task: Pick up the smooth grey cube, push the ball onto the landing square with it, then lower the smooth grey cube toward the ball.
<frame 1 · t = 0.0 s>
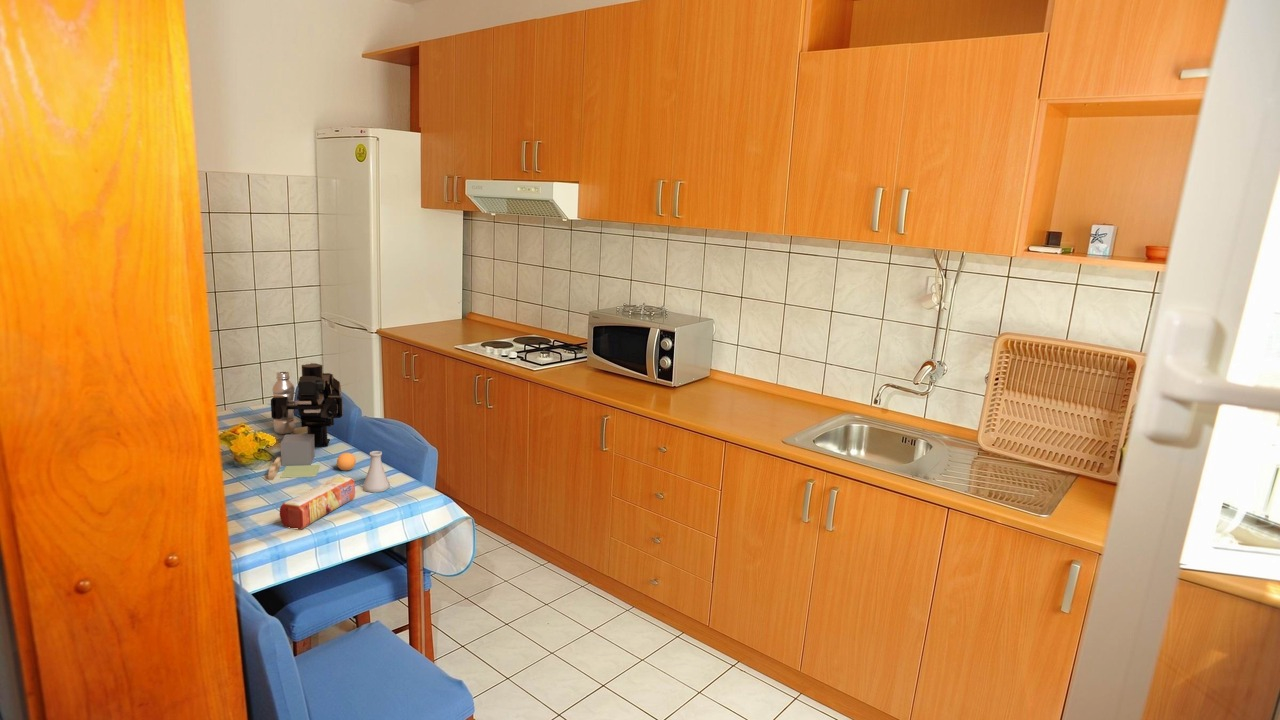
hand: (302, 415, 202), 17 cm above the table, tool horizontal, fingers open, 9 cm apart
snack package: (320, 514, 179), on the table
landing square: (300, 471, 205), on the table
plastic bottle: (284, 433, 238), on the table
smooth grey cube: (298, 461, 213), on the table
flask: (376, 488, 197), on the table
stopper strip: (275, 472, 203), on the table
ball: (346, 461, 208), on the table
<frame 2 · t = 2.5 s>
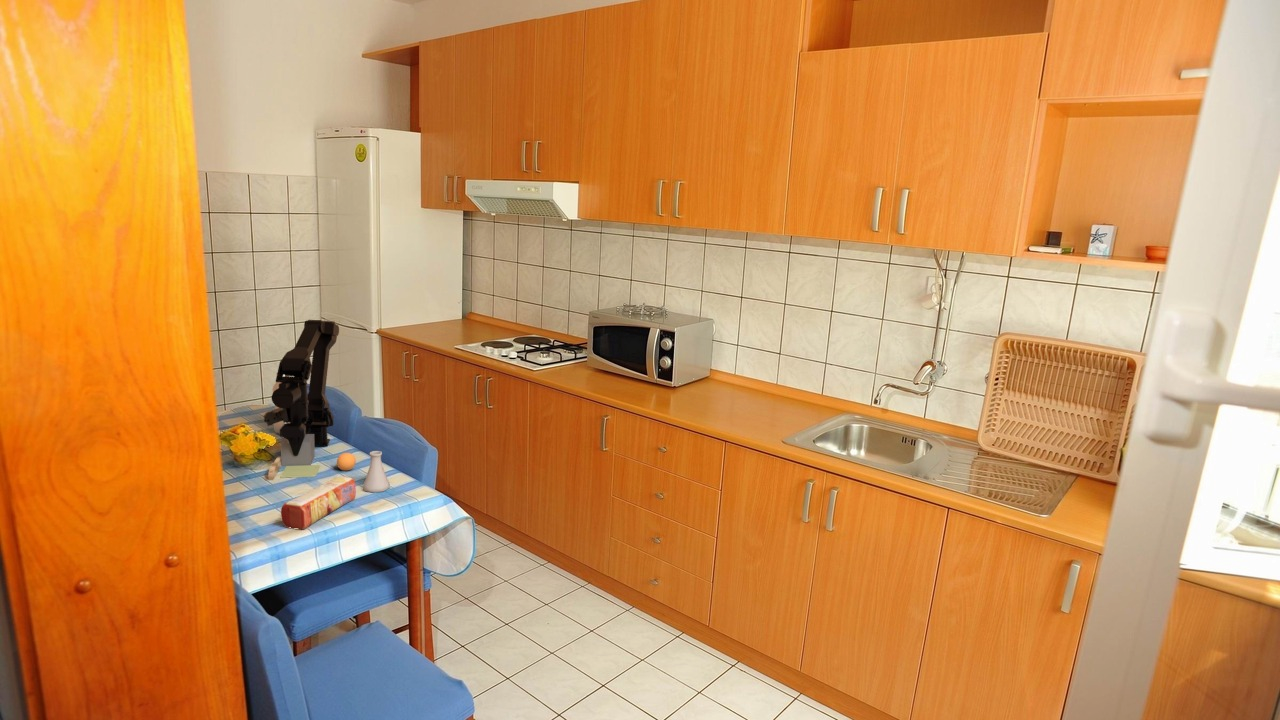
hand: (298, 451, 212), 3 cm above the table, tool pointing down, fingers closed on smooth grey cube, 8 cm apart
smooth grey cube: (298, 461, 213), on the table, touching gripper
everything else where it was.
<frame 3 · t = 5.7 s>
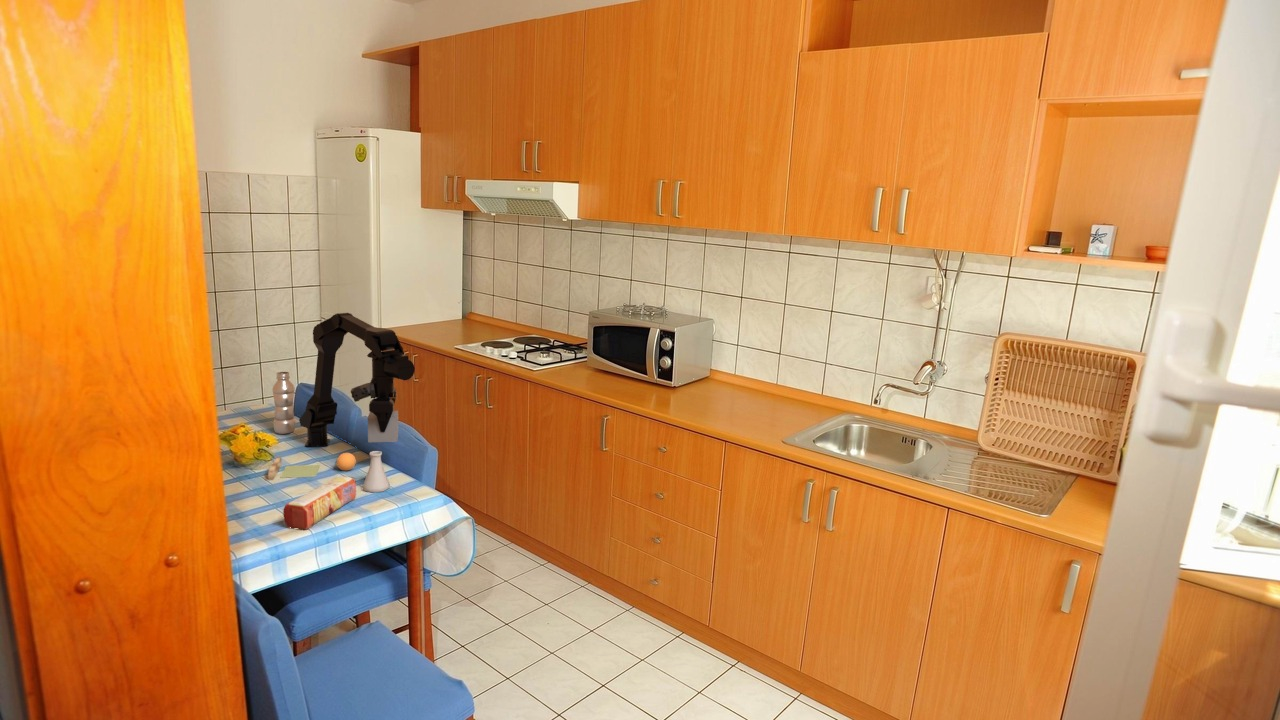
hand: (383, 427, 209), 12 cm above the table, tool pointing down, fingers closed on smooth grey cube, 8 cm apart
smooth grey cube: (383, 438, 209), point 9 cm above the table, touching gripper
everything else where it was.
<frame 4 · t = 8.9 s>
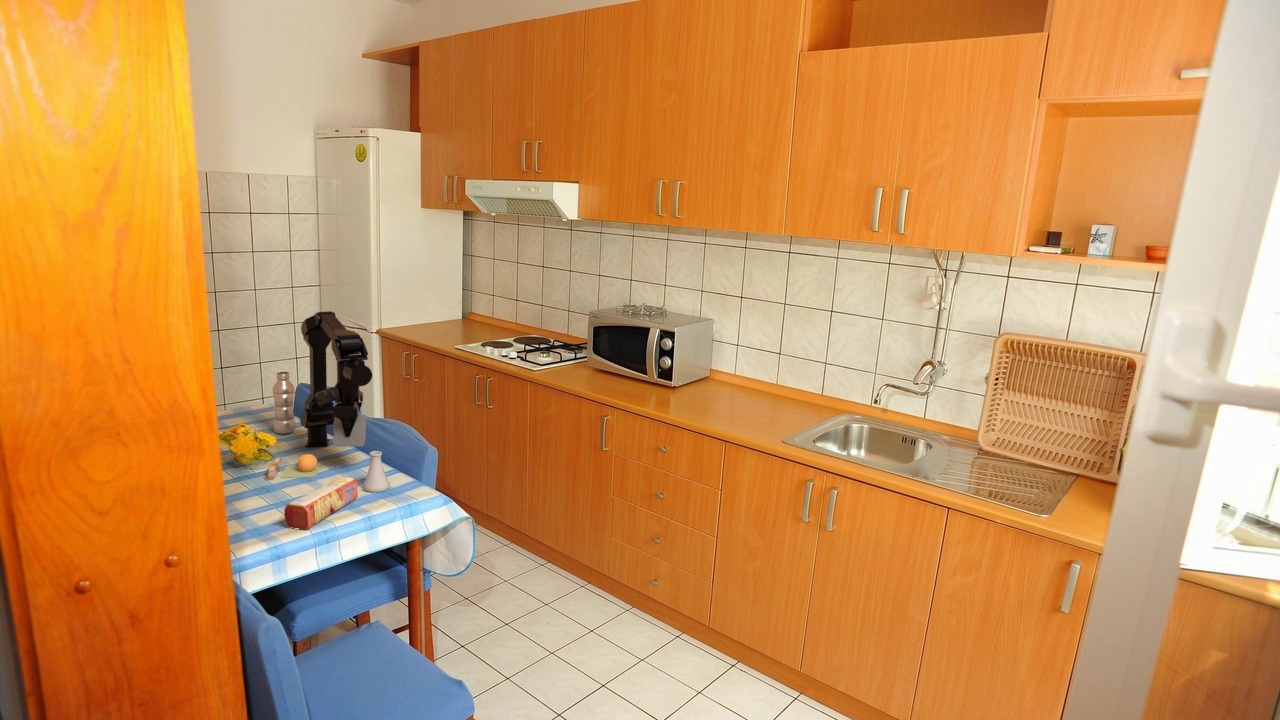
hand: (349, 432, 206), 11 cm above the table, tool pointing down, fingers closed on smooth grey cube, 8 cm apart
smooth grey cube: (350, 442, 207), point 8 cm above the table, touching gripper
ball: (307, 462, 205), on the table
everything else where it was.
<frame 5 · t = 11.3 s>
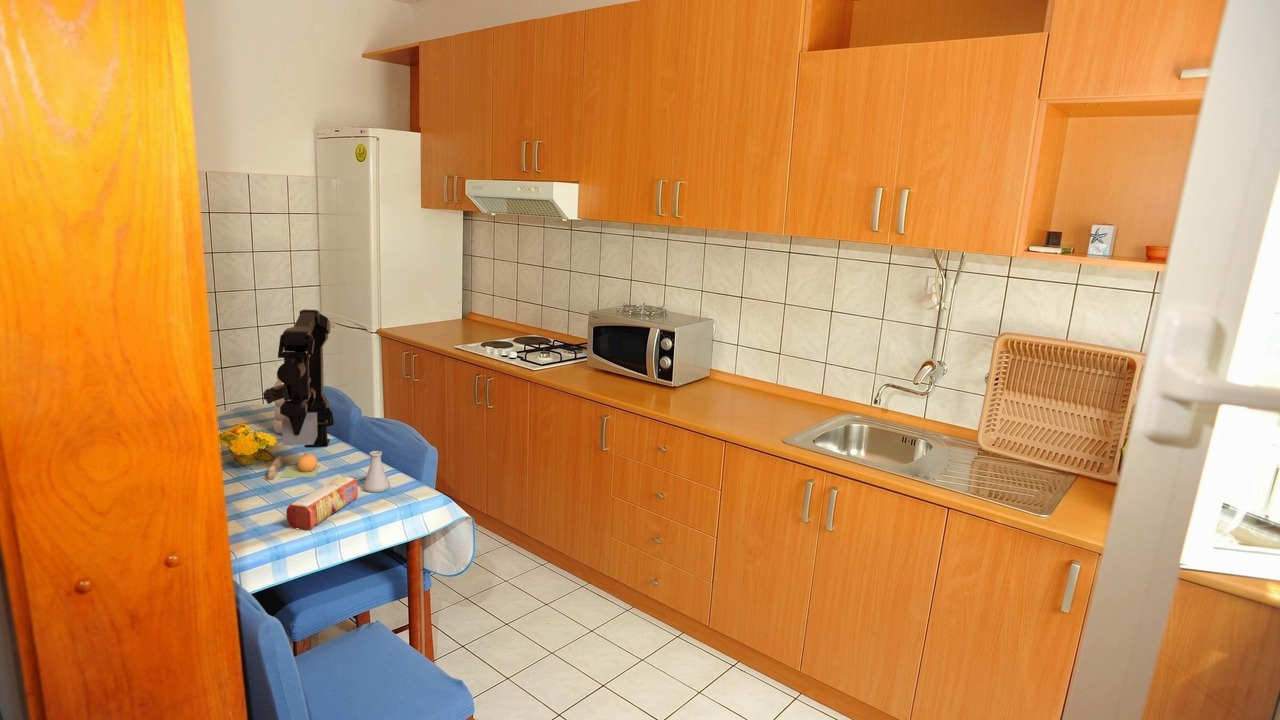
hand: (299, 430, 203), 12 cm above the table, tool pointing down, fingers closed on smooth grey cube, 8 cm apart
smooth grey cube: (300, 440, 203), point 9 cm above the table, touching gripper
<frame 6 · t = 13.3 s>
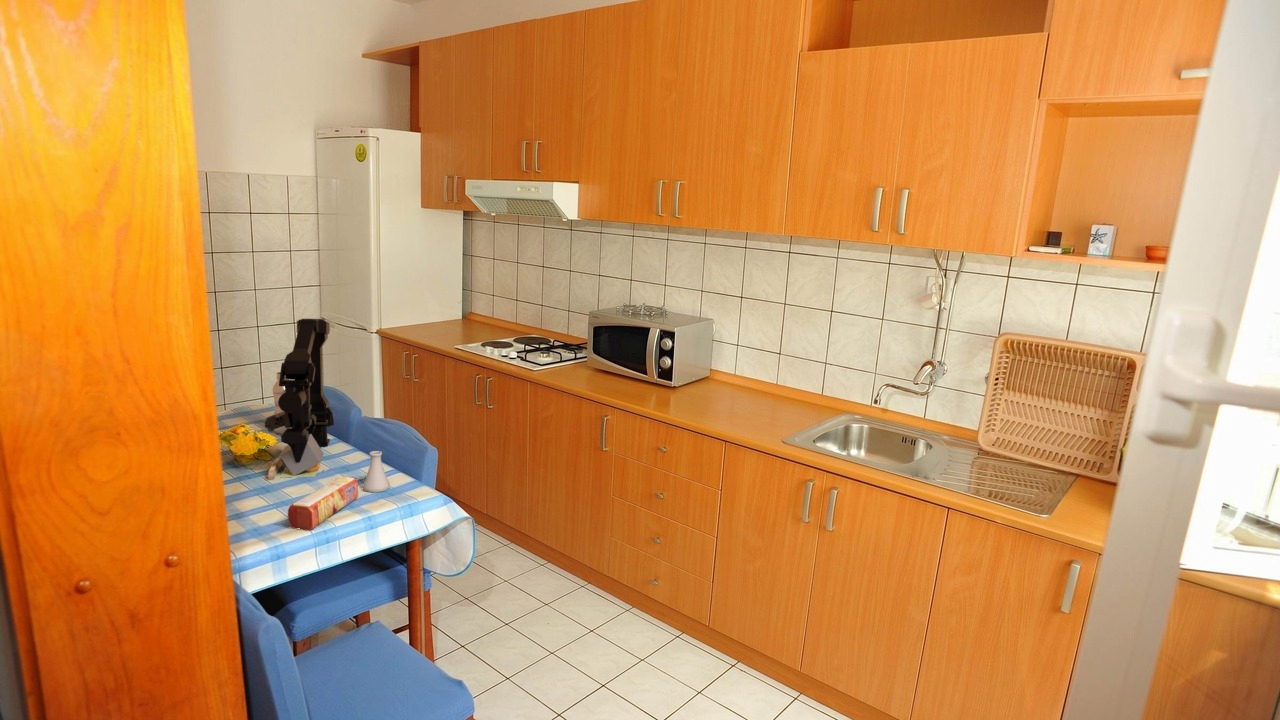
hand: (300, 457, 204), 4 cm above the table, tool pointing down, fingers closed on smooth grey cube, 8 cm apart
smooth grey cube: (309, 464, 205), point 2 cm above the table, tilted 28°, touching gripper
when the fingers open (4 cm above the table, at t = 14.1 s): smooth grey cube drops 2 cm, on the table.
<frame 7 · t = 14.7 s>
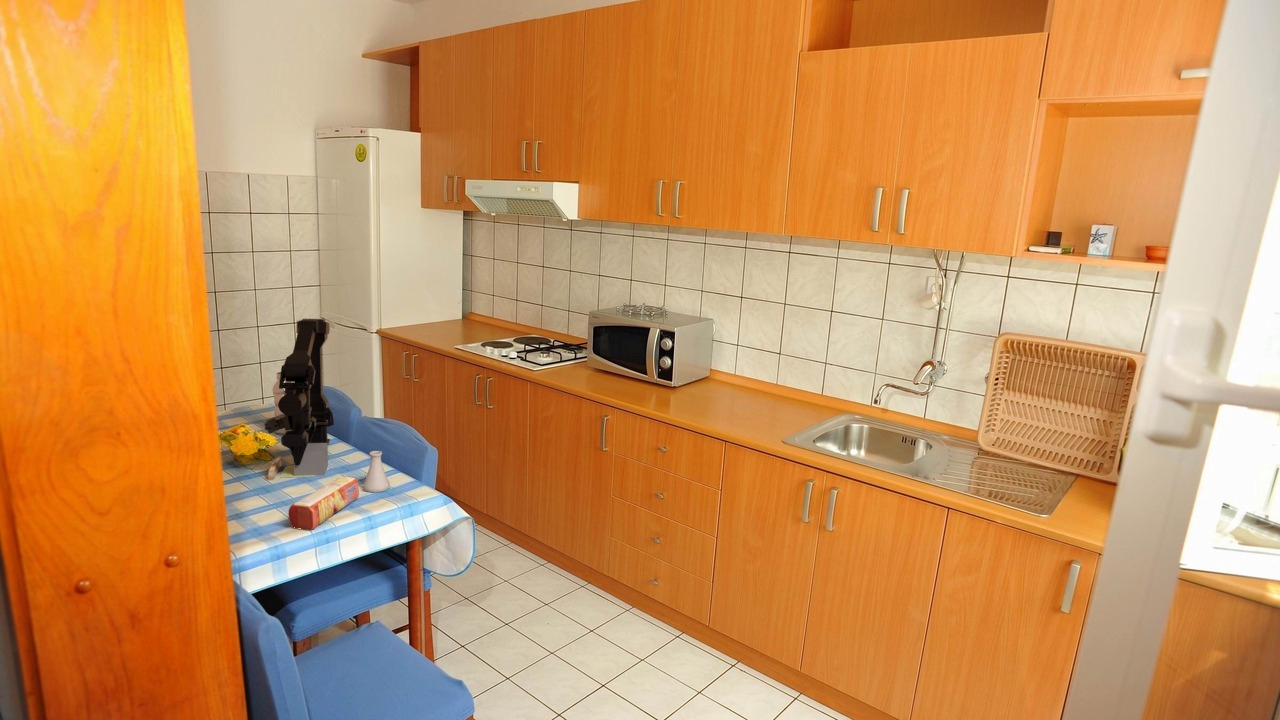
hand: (300, 459, 204), 4 cm above the table, tool pointing down, fingers open, 9 cm apart
smooth grey cube: (311, 471, 206), on the table
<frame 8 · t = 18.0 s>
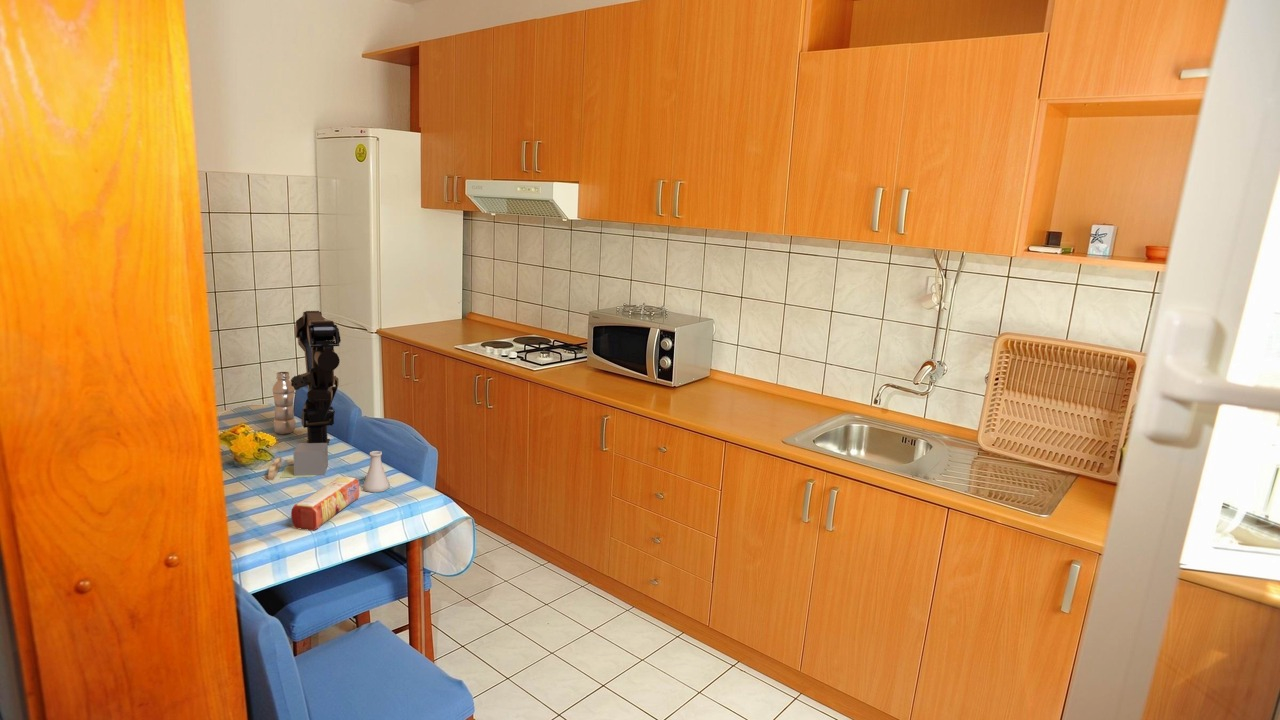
hand: (324, 415, 214), 13 cm above the table, tool pointing down, fingers open, 9 cm apart
at the end: ball 0.1 cm from the smooth grey cube (horizontally); smooth grey cube on the table; ball moved 9.2 cm from its start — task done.
